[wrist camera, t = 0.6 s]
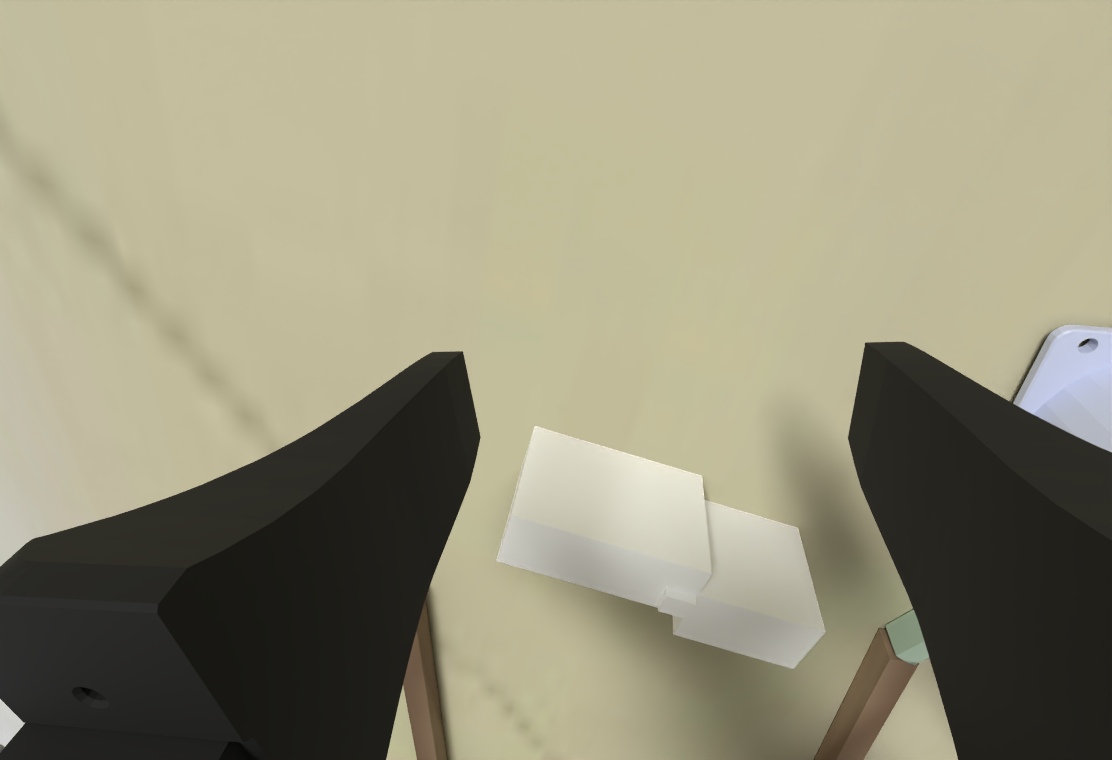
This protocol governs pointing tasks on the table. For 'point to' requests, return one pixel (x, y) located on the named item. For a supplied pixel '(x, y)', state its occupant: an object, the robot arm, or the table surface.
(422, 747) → the napkin dock
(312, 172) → the table surface
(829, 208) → the table surface
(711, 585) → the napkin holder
